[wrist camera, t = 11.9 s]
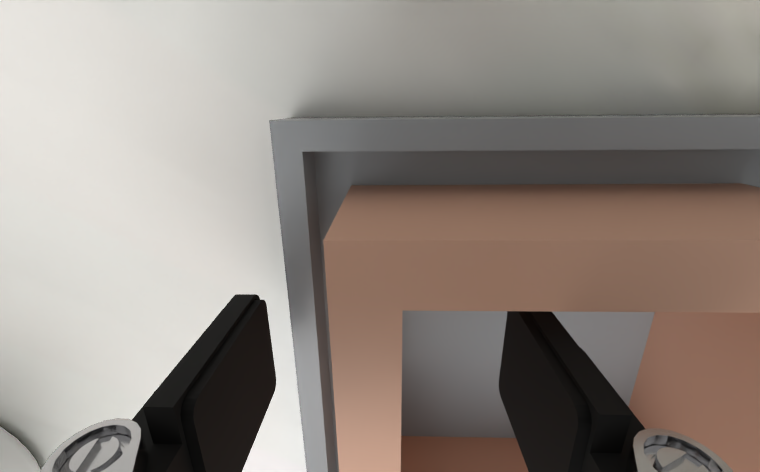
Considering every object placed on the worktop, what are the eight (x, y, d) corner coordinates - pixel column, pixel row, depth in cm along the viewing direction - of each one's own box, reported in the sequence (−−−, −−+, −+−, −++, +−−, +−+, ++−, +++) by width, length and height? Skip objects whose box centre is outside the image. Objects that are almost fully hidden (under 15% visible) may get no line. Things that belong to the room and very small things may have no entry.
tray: (289, 117, 11) (269, 120, 9) (840, 113, 11) (935, 115, 9) (322, 491, 17) (314, 539, 15) (686, 499, 16) (725, 550, 15)
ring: (351, 185, 12) (323, 240, 7) (741, 183, 11) (997, 240, 6) (361, 461, 16) (348, 615, 11) (647, 467, 15) (762, 629, 10)
